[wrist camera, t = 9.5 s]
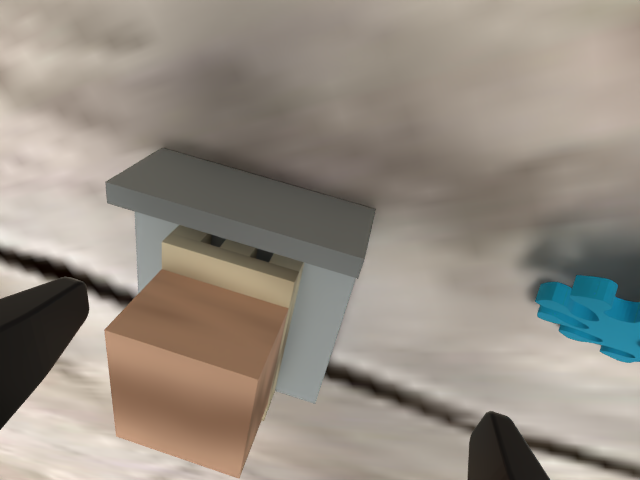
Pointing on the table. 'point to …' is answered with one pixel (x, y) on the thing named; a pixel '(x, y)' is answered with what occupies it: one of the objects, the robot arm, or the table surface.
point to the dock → (255, 242)
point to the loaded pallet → (202, 350)
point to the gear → (593, 315)
